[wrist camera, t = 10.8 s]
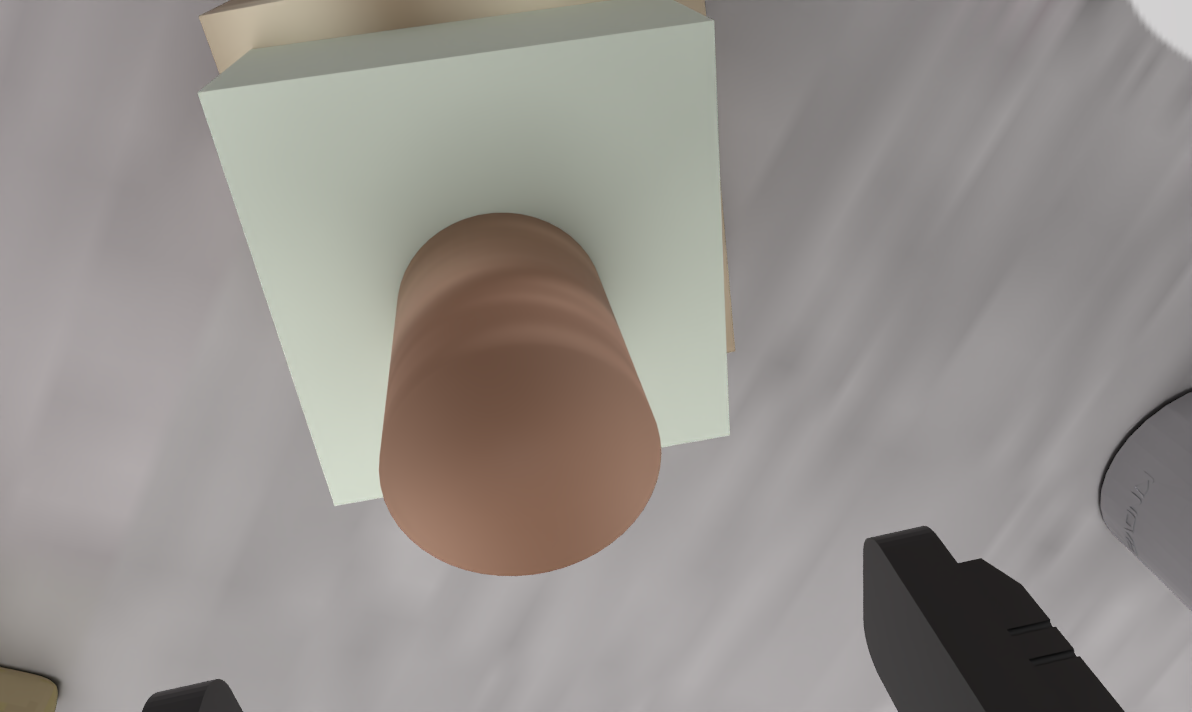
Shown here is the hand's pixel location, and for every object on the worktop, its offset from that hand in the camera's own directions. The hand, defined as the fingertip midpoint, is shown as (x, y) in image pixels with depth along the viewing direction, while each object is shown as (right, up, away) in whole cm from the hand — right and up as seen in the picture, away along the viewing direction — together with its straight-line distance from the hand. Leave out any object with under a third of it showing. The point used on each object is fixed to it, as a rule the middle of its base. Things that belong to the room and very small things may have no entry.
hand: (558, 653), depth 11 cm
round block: (-2, +5, +8) cm, 10 cm away
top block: (-2, +8, +13) cm, 15 cm away
